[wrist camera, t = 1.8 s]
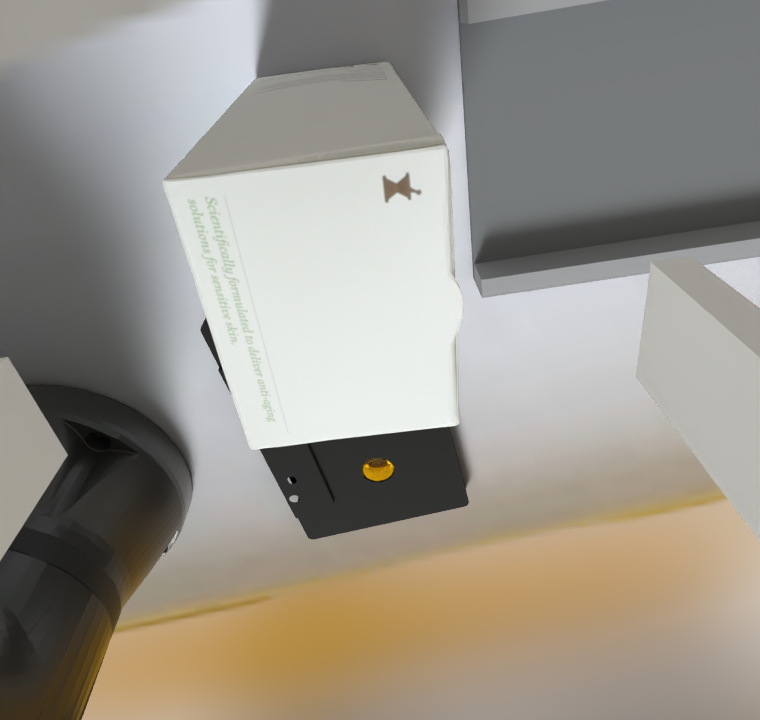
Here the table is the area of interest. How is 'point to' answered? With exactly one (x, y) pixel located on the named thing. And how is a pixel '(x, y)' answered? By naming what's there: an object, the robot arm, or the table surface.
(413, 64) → the table surface
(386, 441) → the cassette tape
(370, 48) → the table surface
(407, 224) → the skincare box
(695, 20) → the rubber tray
